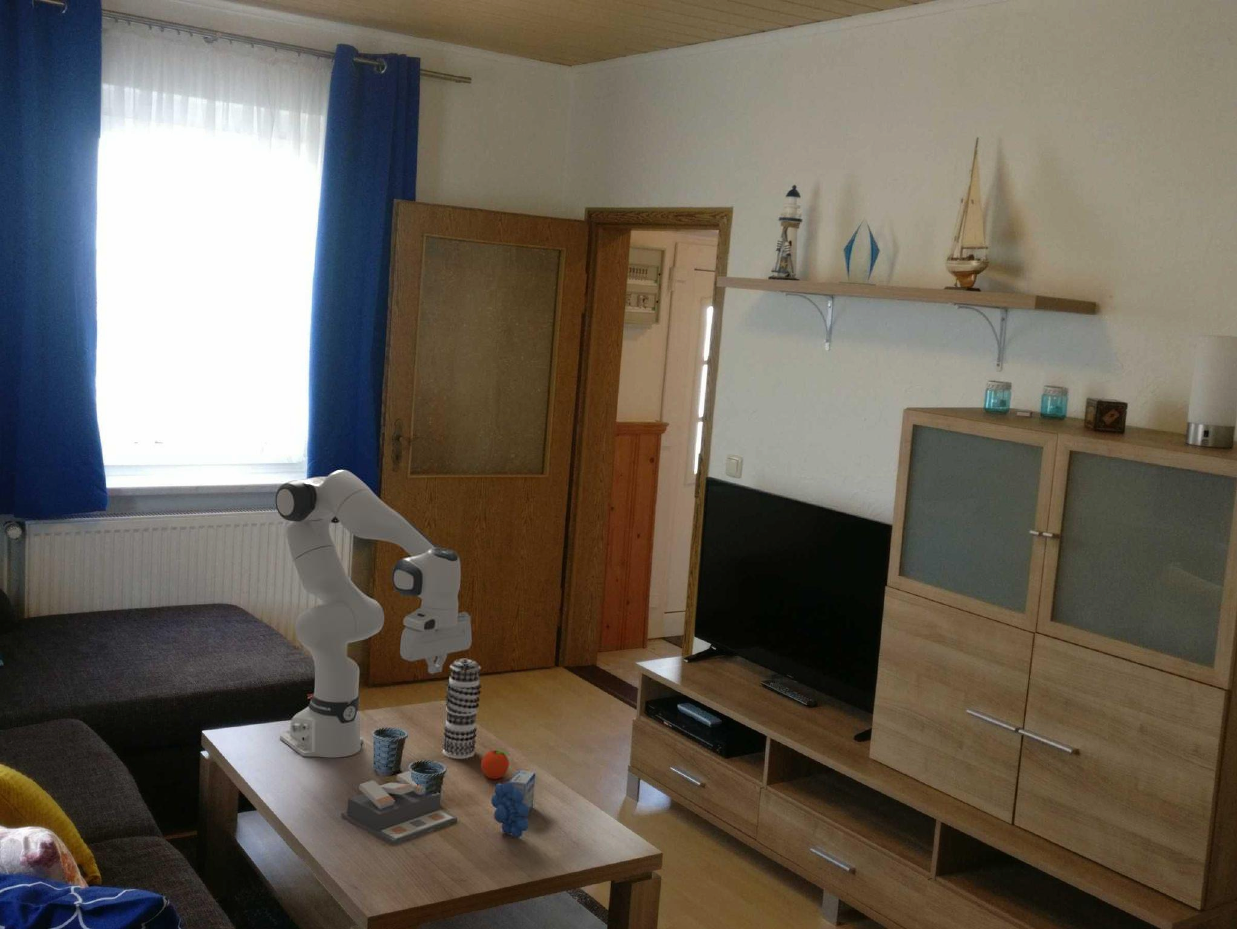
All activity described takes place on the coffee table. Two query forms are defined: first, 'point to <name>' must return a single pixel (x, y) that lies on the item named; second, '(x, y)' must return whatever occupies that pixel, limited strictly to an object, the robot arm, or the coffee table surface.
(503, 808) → the grapes
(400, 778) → the rocker
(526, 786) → the medicine box
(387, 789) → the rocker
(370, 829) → the switch unit
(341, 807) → the coffee table surface
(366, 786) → the block
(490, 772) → the tomato
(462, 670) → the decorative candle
